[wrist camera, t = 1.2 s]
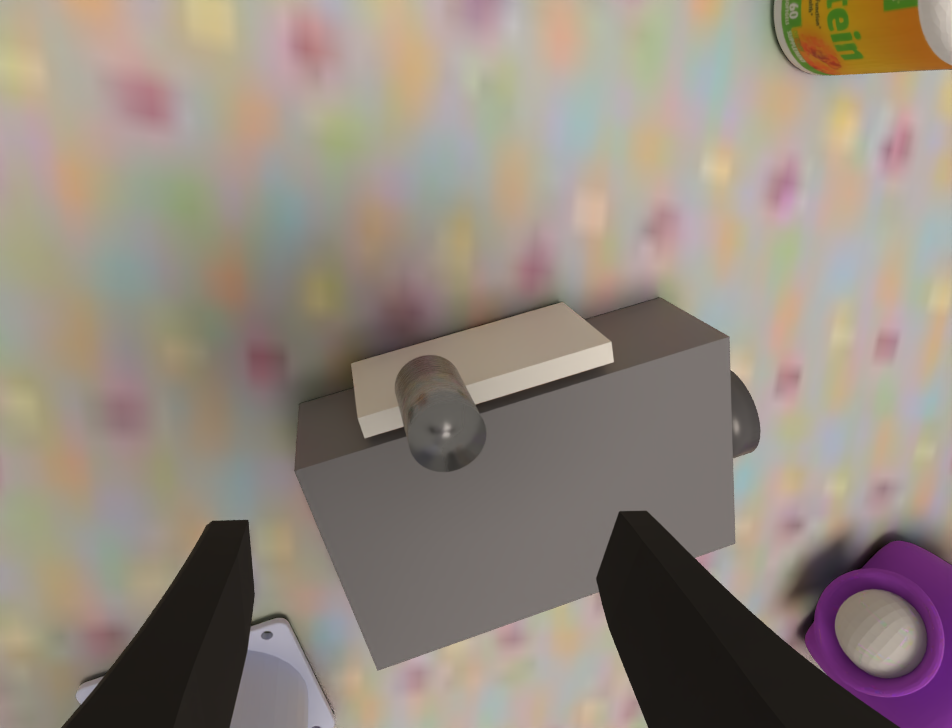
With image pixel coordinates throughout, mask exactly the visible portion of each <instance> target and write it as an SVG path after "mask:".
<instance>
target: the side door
mask: <svg viewBox="0 0 952 728" xmlns="http://www.w3.org/2000/svg"><path fill="white" fill-rule="evenodd" d="M613 362H614V359H613V351H612V342H611V341H610V340H609V339H607V338H606V337H605V336H604V335H603V334H601V333H600V332H599V331H598V330H596V329H595V328H594V327H593V326H592V325H590V324H589V323H588V322H587V321H585V320H584V319H583V318H582V317H581V316H579V315H578V314H577V313H576V312H574V311H573V310H572V309H571V308H570V307H568V306H567V305H566V304H565V303H563V302H561V303H557V304H554V305H550V306H547V307H543V308H540V309H537V310H533V311H530V312H526V313H523V314H519V315H516V316H512V317H509V318H506V319H502V320H499V321H495V322H492V323H488V324H485V325H481V326H478V327H474V328H471V329H468V330H464V331H461V332H457V333H454V334H450V335H447V336H443V337H440V338H437V339H433V340H430V341H426V342H423V343H419V344H416V345H412V346H409V347H405V348H402V349H399V350H395V351H392V352H388V353H385V354H381V355H378V356H374V357H371V358H368V359H364V360H361V361H357V362H354V363H351V368H352V376H353V384H354V392H355V401H356V409H357V417H358V421H359V424H360V427H361V430H362V432H363V435H364V438H368V437H371V436H374V435H377V434H381V433H384V432H387V431H391V430H394V429H397V428H400V427H404V429H405V433H406V437H407V440H408V444H409V448H410V451H411V454H412V456H413V457H414V459H415V460H416V461H417V462H418V463H419V464H420V465H421V466H423V467H425V468H427V469H429V470H432V471H436V472H450V471H455V470H458V469H461V468H463V467H465V466H467V465H468V464H470V463H471V462H472V461H473V460H474V459H475V458H476V457H477V456H478V455H479V454H480V452H481V451H482V449H483V447H484V444H485V441H486V426H485V423H484V421H483V419H482V417H481V415H480V413H479V411H478V409H477V407H476V405H475V404H479V403H482V402H485V401H488V400H492V399H495V398H498V397H502V396H505V395H508V394H511V393H515V392H518V391H521V390H524V389H528V388H531V387H534V386H537V385H541V384H544V383H547V382H551V381H554V380H557V379H560V378H564V377H567V376H570V375H573V374H577V373H580V372H583V371H586V370H590V369H593V368H596V367H599V366H603V365H606V364H609V363H613Z"/></svg>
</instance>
